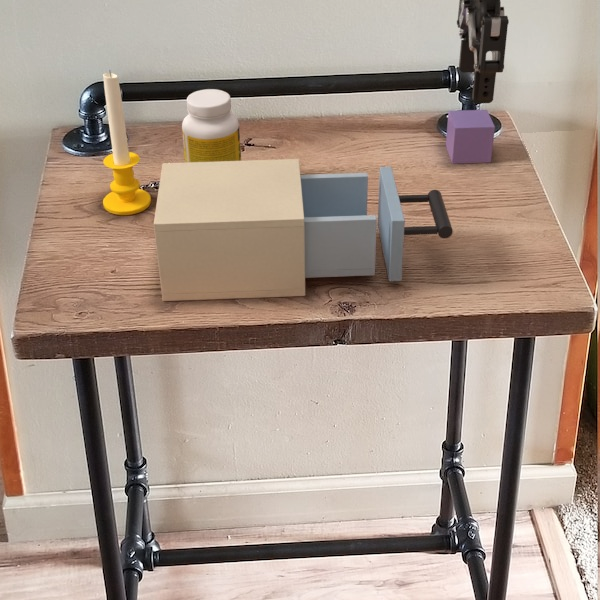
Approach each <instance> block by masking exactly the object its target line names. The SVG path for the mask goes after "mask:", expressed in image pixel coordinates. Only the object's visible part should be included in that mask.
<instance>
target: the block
mask: <svg viewBox="0 0 600 600" xmlns="http://www.w3.org/2000/svg"><path fill="white" fill-rule="evenodd" d="M446 125H447V126H446V136H445V137H446V138H445V148H446V151H447V154H448V157H449V159H450V162H451V164H452V165H455V164H456V165H457V164H484V163H488V164H489V163H492V158H493V157H492V156H493V150H494V149H493V147H494V139H495V131H496V130H495V129H496V126H495V123H494V122H493V120H492V118H491V115H490V113H489V111H488V109H466V110H465V109H464V110H463V109H462V110H448V113H447V124H446Z"/></svg>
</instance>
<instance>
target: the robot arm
mask: <svg viewBox="0 0 600 600" xmlns="http://www.w3.org/2000/svg"><path fill="white" fill-rule="evenodd" d="M501 4H502V3H501V0H459V3H458V12H457V13H458V14H457V20H456V25H457V28H458V29H459V31H458V36H459V39H460V49H459V59H458V60H459V61H458V68H459V71H460V72H461V73H474V75H473V84H472V92H471V93H472V94H471V99H472V101H473V103H475V104H491V103H492V102H493V100H494V96H495V95H494V94H495V87H496V79H497V78H496V77H497V73H503V72H504V69H505V57H506V46H507V36H508V25H509V22H510V21H509V18H508V17H509V16H508V15H505V6H501ZM488 52H491V59H487V53H488Z"/></svg>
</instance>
